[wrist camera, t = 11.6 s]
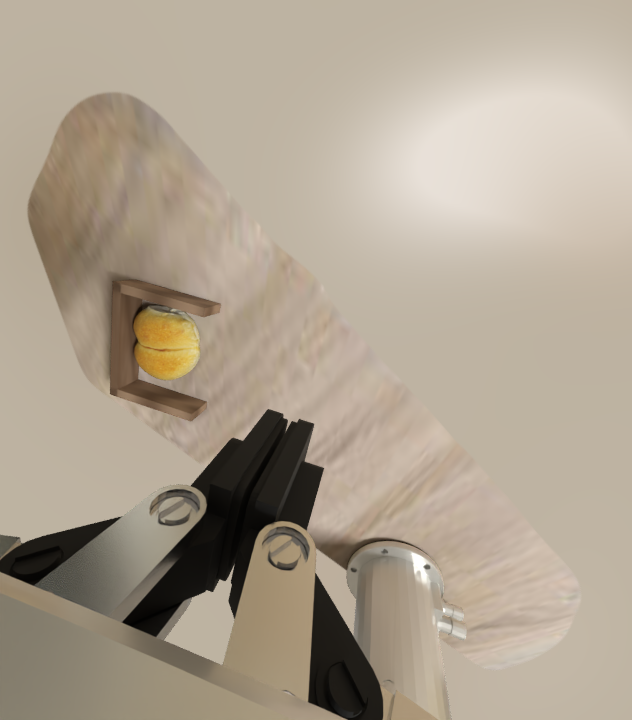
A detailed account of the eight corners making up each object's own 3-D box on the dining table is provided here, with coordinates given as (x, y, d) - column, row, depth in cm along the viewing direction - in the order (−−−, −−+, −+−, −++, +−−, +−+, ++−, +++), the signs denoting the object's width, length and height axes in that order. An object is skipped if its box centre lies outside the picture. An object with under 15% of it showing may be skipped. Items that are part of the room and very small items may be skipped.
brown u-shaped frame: (220, 304, 37) (205, 308, 34) (206, 408, 41) (191, 421, 38) (136, 279, 38) (112, 281, 35) (130, 384, 43) (110, 394, 39)
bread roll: (144, 367, 42) (120, 378, 38) (144, 300, 39) (119, 304, 35) (201, 382, 41) (183, 394, 37) (206, 314, 38) (187, 319, 34)
